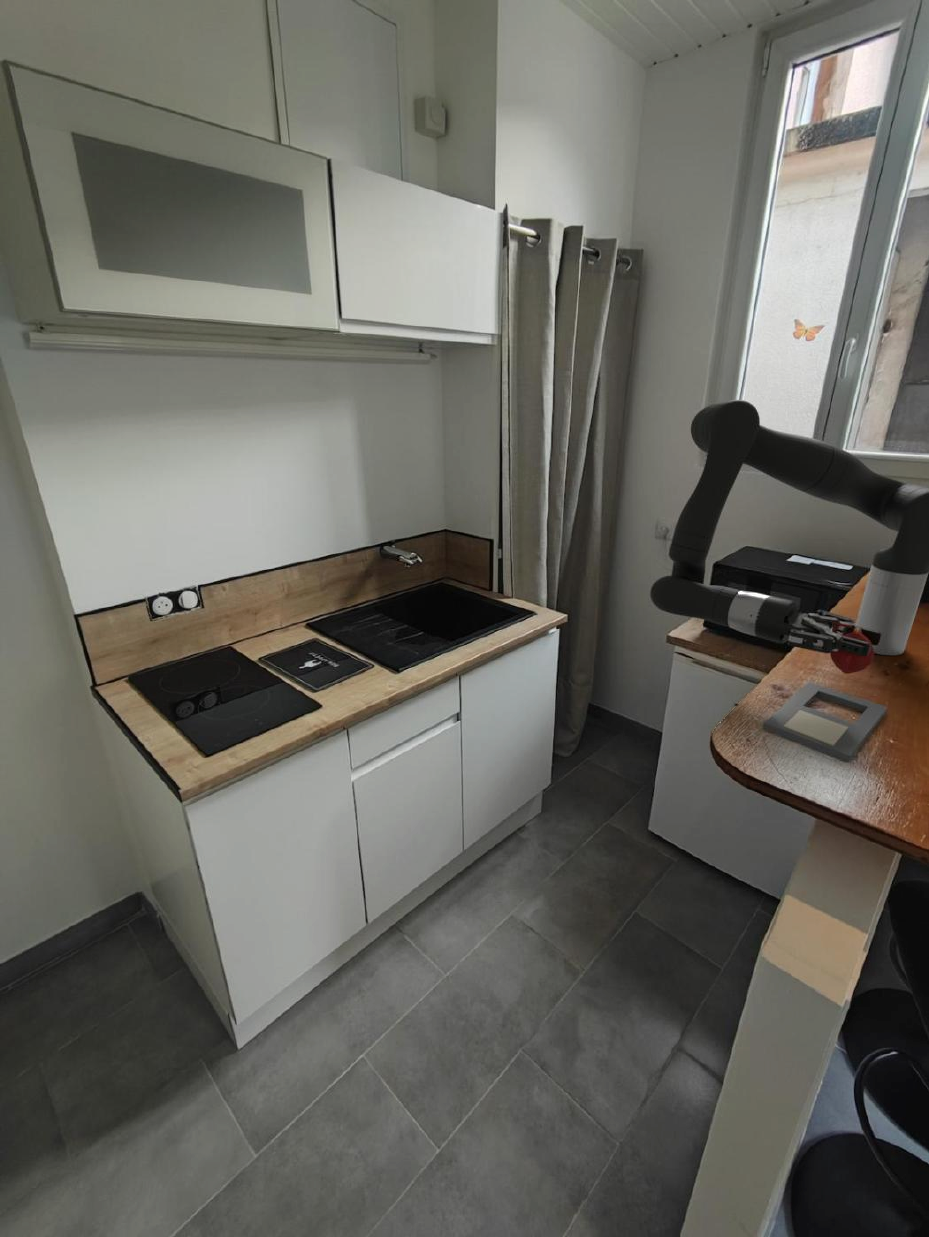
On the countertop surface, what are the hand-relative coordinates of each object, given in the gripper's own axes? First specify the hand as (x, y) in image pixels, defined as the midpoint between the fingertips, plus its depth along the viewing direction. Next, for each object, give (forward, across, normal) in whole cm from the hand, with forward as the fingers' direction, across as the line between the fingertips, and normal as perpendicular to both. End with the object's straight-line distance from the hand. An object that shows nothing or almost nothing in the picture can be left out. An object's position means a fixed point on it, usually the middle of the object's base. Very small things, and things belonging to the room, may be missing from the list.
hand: (874, 644), depth 89 cm
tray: (-3, -4, +13) cm, 14 cm away
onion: (-3, 0, +6) cm, 7 cm away
